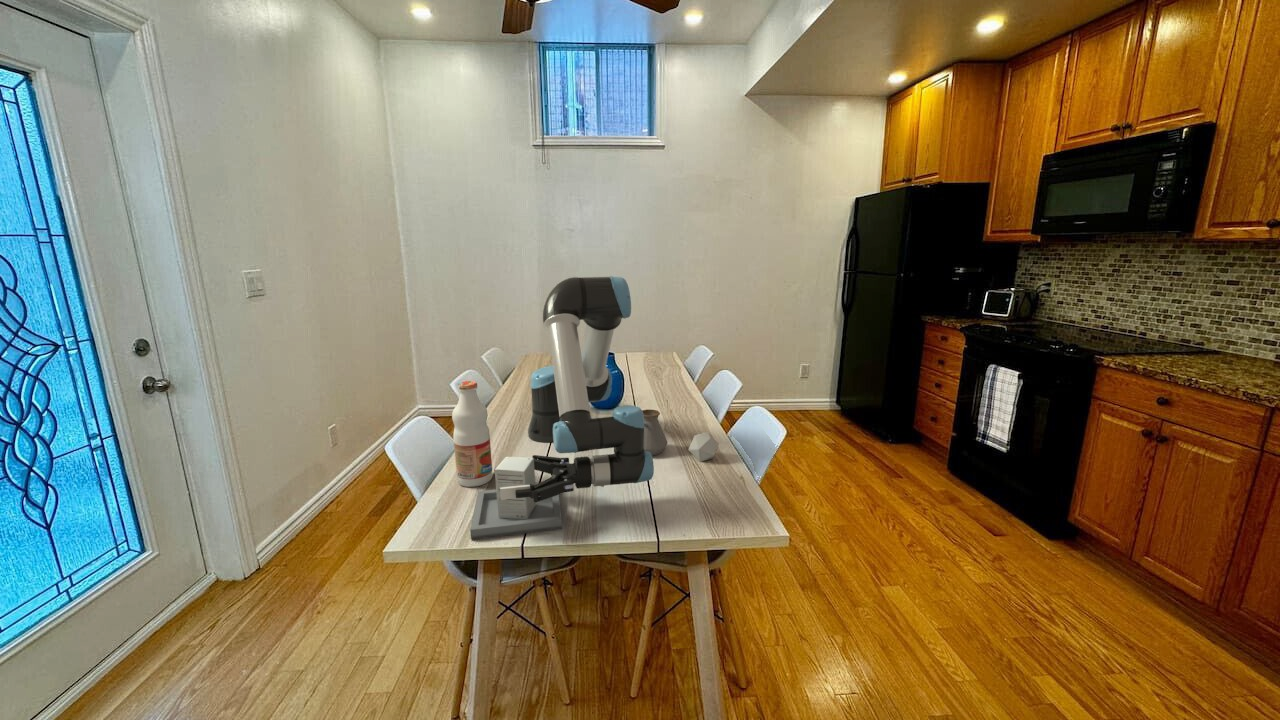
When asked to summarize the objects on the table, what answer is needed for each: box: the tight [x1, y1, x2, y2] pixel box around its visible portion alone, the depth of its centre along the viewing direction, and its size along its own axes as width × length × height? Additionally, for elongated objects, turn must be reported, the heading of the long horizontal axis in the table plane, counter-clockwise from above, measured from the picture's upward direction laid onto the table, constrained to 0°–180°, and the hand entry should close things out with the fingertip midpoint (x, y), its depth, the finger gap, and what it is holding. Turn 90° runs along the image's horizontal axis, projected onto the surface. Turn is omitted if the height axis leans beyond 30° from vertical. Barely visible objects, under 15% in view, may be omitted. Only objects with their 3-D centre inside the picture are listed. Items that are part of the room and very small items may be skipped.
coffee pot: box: [641, 408, 668, 457], centre depth 152 cm, size 21×12×15 cm, turn 154°
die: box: [688, 431, 720, 463], centre depth 152 cm, size 8×9×10 cm
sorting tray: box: [469, 488, 563, 541], centre depth 121 cm, size 18×20×2 cm
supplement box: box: [494, 456, 537, 519], centre depth 119 cm, size 7×7×13 cm
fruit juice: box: [451, 380, 493, 488], centre depth 135 cm, size 9×9×28 cm
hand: (501, 480), depth 118 cm, fingers open, 13 cm apart
